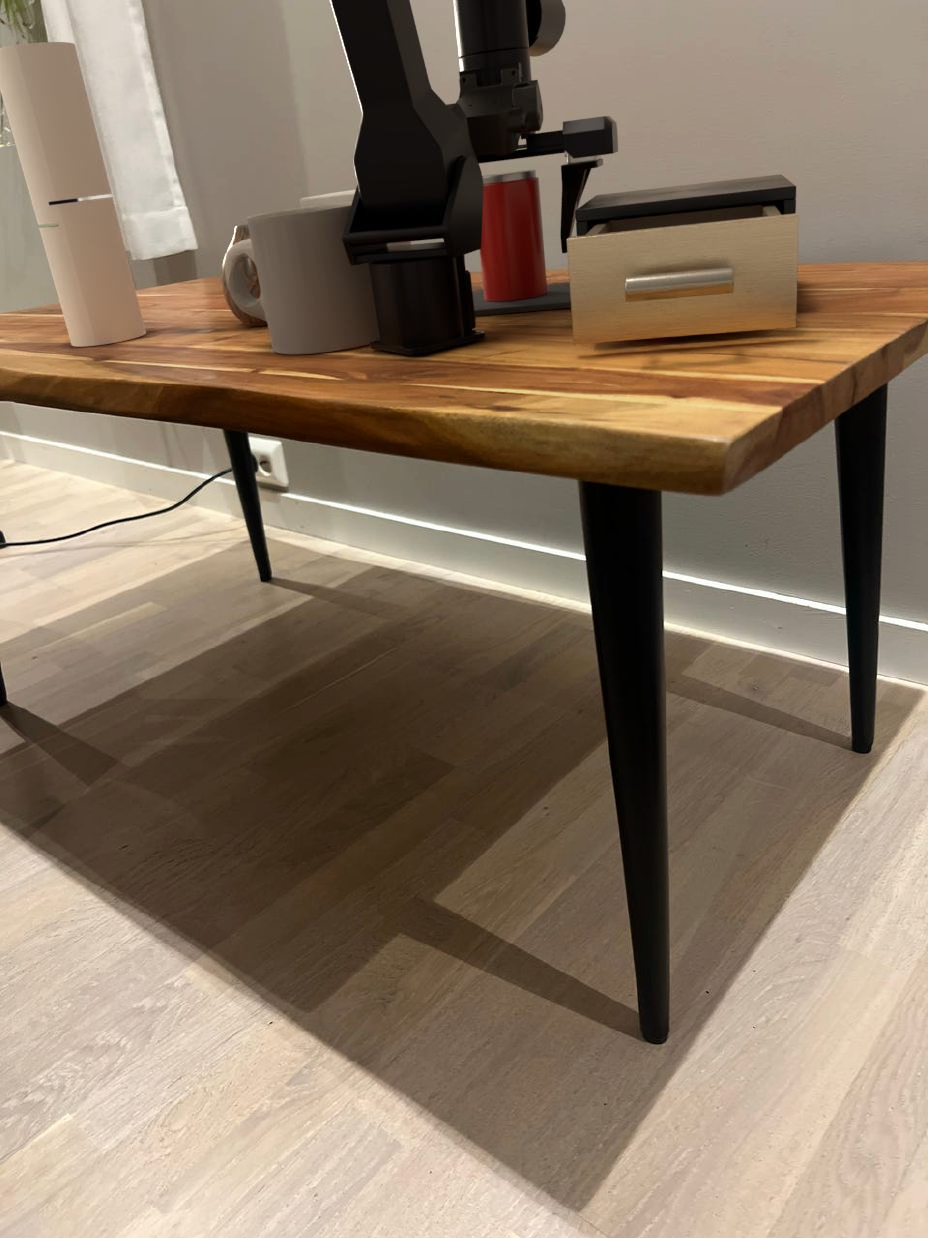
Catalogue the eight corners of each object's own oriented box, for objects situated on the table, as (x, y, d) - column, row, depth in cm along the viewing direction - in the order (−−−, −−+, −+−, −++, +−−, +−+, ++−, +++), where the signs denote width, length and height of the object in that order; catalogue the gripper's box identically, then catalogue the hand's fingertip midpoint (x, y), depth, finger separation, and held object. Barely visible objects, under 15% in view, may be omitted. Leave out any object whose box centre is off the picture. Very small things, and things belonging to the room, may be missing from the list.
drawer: (801, 341, 56) (805, 221, 53) (565, 358, 59) (557, 246, 56) (781, 292, 71) (783, 197, 68) (594, 308, 74) (589, 218, 72)
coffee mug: (417, 327, 82) (399, 196, 77) (346, 353, 74) (322, 210, 70) (292, 330, 88) (269, 209, 84) (215, 355, 81) (186, 224, 77)
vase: (264, 329, 91) (244, 227, 87) (215, 329, 95) (194, 231, 91) (317, 315, 95) (300, 217, 92) (269, 315, 99) (251, 221, 96)
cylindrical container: (132, 341, 94) (56, 38, 83) (60, 349, 95) (-26, 50, 84) (155, 328, 100) (87, 46, 90) (87, 336, 101) (11, 56, 90)
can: (510, 303, 84) (498, 175, 80) (472, 300, 89) (458, 178, 84) (560, 291, 87) (551, 167, 83) (520, 289, 91) (510, 171, 87)
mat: (575, 307, 81) (575, 301, 81) (435, 319, 84) (434, 313, 84) (590, 285, 92) (590, 279, 92) (465, 296, 95) (464, 291, 95)
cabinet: (793, 312, 69) (796, 185, 65) (582, 329, 72) (574, 209, 69) (779, 281, 81) (781, 173, 78) (601, 297, 85) (595, 195, 81)
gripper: (353, 66, 75) (384, 281, 82) (600, 28, 71) (612, 259, 77) (394, 72, 85) (419, 263, 91) (613, 38, 80) (622, 243, 87)
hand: (512, 257), depth 87 cm, fingers open, 9 cm apart
